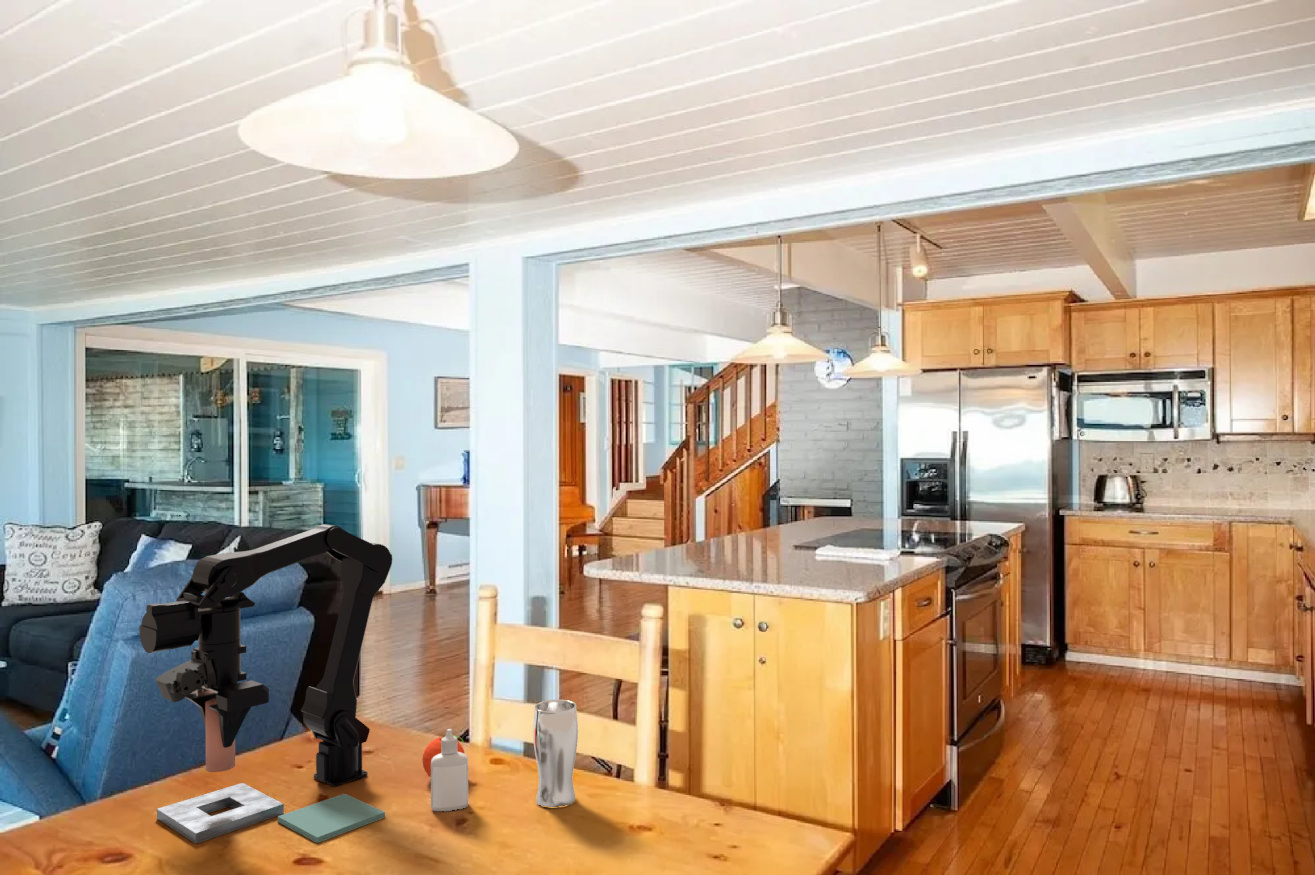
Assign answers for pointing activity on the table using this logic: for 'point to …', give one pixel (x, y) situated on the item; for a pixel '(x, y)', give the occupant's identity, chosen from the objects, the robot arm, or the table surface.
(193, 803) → the grey square hole plate
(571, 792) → the beer glass
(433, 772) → the eye dropper bottle
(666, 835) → the table surface
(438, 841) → the table surface
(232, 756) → the pink rounded cylinder
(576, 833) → the table surface
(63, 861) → the table surface
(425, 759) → the clementine
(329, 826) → the rubber mat
